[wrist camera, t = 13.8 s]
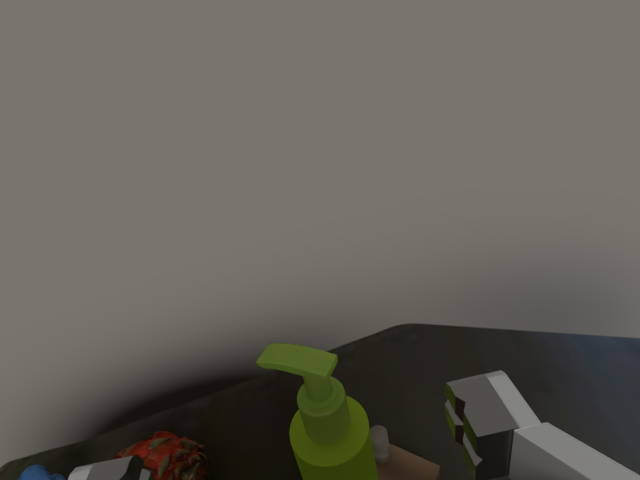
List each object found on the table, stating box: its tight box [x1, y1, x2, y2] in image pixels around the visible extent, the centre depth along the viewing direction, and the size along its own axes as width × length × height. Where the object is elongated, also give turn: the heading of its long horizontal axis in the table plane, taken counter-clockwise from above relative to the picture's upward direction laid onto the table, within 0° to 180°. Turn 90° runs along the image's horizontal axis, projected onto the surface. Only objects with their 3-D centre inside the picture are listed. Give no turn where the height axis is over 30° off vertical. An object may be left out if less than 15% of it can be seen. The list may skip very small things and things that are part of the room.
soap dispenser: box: [256, 343, 378, 480], centre depth 31 cm, size 6×7×20 cm
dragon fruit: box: [115, 431, 211, 480], centre depth 40 cm, size 8×8×12 cm
